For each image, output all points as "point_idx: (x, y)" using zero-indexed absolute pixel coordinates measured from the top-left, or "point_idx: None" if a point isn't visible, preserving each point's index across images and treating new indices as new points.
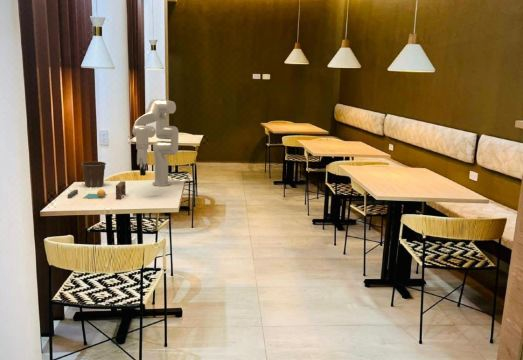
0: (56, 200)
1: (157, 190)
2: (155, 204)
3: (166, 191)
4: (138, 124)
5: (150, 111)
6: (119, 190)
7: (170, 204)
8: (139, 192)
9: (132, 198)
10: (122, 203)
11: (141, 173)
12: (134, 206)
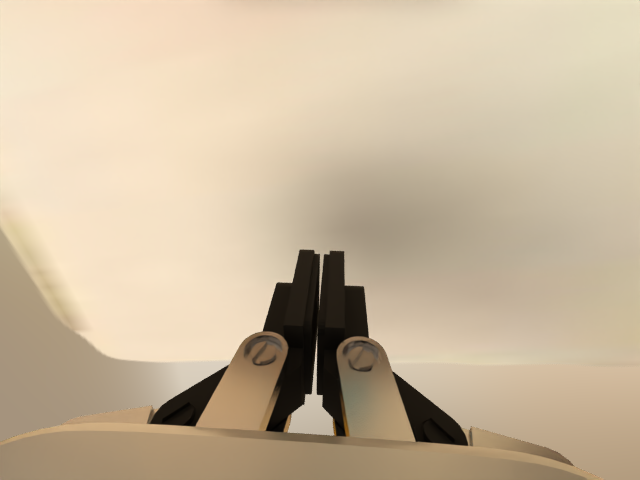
0: None
1: (575, 245)
2: (134, 272)
3: (520, 303)
4: None
5: None
6: None
7: (163, 340)
8: (529, 105)
9: (274, 81)
10: (65, 20)
11: (277, 291)
12: (22, 150)
